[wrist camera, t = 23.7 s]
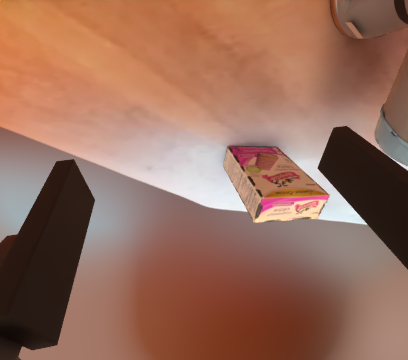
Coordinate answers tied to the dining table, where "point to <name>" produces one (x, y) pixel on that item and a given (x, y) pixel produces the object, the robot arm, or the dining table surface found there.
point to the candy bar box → (273, 185)
